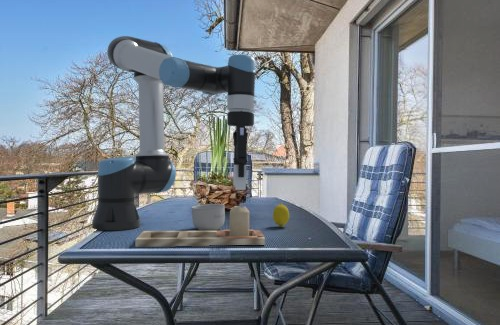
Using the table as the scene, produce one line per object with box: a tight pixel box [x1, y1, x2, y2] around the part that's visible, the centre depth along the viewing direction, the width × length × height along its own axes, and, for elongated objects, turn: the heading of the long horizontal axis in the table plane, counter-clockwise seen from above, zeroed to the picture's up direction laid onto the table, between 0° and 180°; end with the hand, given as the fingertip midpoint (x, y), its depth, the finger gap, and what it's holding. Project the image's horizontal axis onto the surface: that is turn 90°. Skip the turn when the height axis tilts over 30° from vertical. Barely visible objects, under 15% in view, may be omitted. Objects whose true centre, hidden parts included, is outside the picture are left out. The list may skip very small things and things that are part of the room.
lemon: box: [272, 203, 290, 228], centre depth 139 cm, size 6×6×8 cm
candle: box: [229, 205, 250, 236], centre depth 114 cm, size 6×6×10 cm
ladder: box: [134, 229, 266, 248], centre depth 114 cm, size 34×12×2 cm, turn 95°
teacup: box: [191, 203, 226, 231], centre depth 134 cm, size 14×11×8 cm
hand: (239, 187), depth 115 cm, fingers open, 13 cm apart
